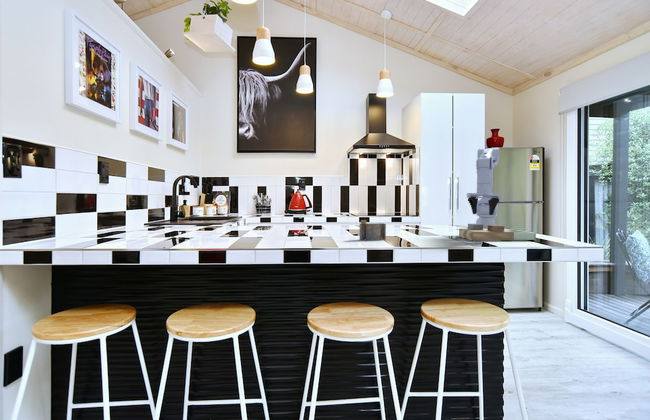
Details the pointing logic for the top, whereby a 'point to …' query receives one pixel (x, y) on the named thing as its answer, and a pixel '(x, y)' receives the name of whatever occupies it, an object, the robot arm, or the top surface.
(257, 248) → the top surface
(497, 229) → the walnut tile
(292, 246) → the top surface
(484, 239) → the oak bench
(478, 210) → the robot arm
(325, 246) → the top surface
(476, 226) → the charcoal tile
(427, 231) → the top surface
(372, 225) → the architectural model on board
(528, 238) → the bin
